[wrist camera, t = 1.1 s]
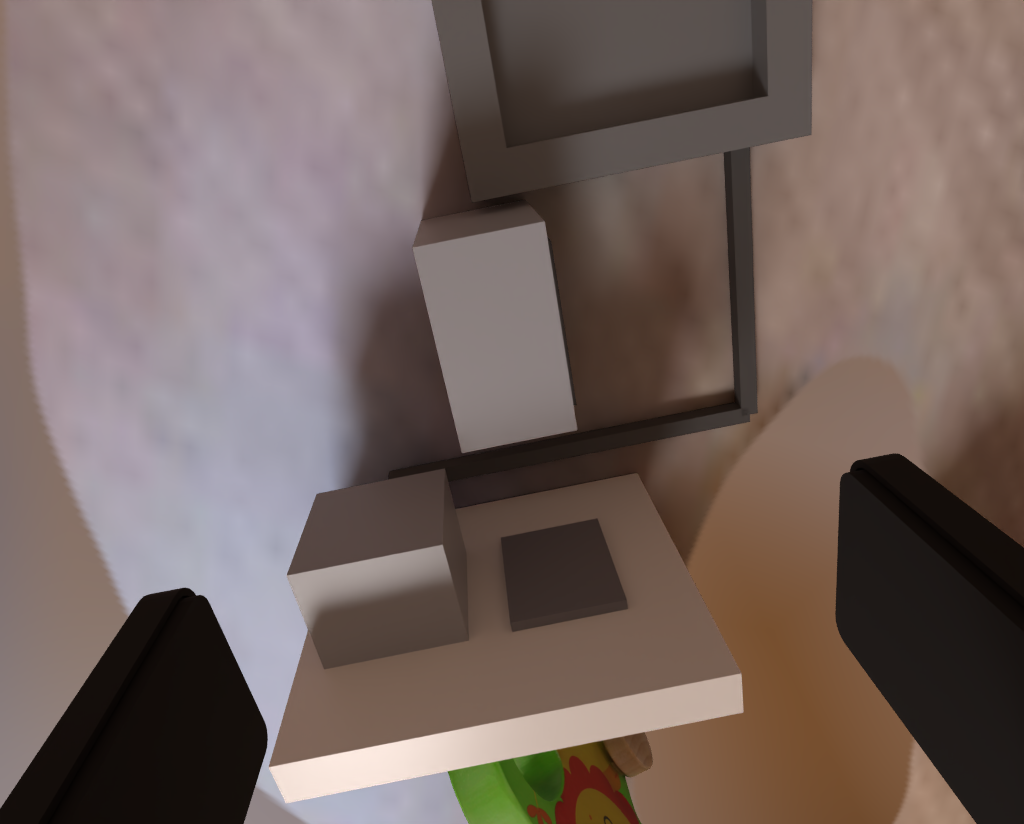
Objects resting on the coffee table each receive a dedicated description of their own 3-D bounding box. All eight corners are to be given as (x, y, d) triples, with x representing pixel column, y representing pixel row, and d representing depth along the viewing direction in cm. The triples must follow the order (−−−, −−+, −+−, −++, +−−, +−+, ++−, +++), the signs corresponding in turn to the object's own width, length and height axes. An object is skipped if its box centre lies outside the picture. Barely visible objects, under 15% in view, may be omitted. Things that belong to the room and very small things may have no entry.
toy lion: (411, 621, 33) (379, 990, 19) (499, 563, 32) (535, 906, 18) (588, 785, 38) (663, 1159, 25) (667, 740, 37) (792, 1103, 24)
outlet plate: (627, 393, 29) (735, 562, 18) (640, 502, 31) (743, 712, 20) (309, 456, 29) (218, 665, 18) (346, 560, 31) (286, 803, 20)
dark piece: (741, 142, 25) (785, 145, 21) (751, 413, 29) (788, 450, 26) (317, 227, 25) (296, 243, 21) (393, 484, 29) (386, 530, 26)
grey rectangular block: (528, 198, 25) (549, 220, 20) (556, 368, 28) (581, 429, 22) (421, 220, 25) (412, 247, 20) (460, 388, 28) (461, 453, 22)
